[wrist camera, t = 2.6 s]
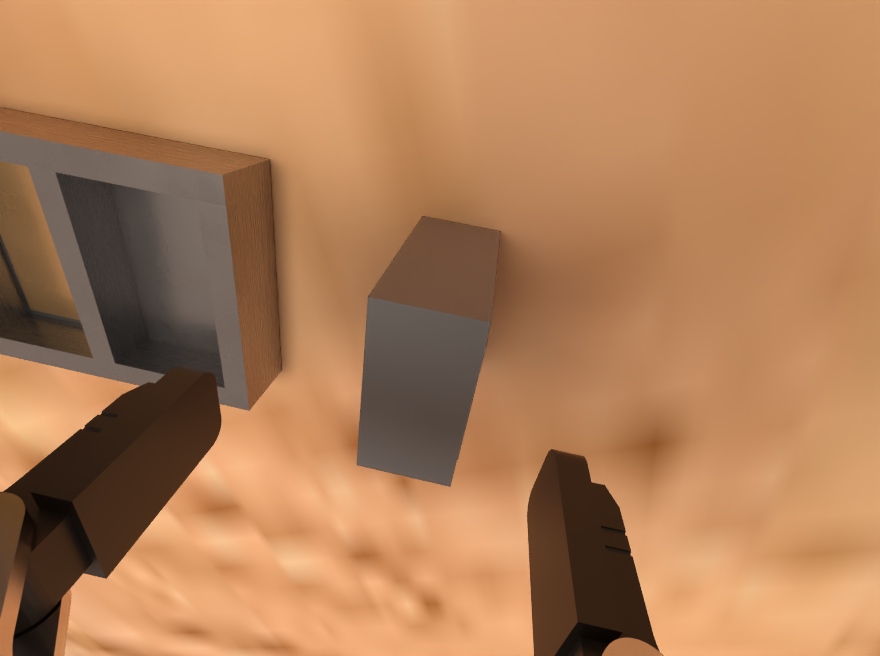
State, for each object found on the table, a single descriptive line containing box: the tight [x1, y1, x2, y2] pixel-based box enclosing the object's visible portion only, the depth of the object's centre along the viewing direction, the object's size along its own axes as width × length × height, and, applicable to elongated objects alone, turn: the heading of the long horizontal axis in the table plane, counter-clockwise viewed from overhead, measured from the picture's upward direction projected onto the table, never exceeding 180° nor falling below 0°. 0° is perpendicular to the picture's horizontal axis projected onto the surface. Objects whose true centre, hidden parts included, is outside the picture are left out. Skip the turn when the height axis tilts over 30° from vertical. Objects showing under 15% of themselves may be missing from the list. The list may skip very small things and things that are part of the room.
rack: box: [0, 107, 282, 410], centre depth 18 cm, size 13×10×3 cm
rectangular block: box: [357, 216, 501, 487], centre depth 15 cm, size 3×6×7 cm, turn 171°
